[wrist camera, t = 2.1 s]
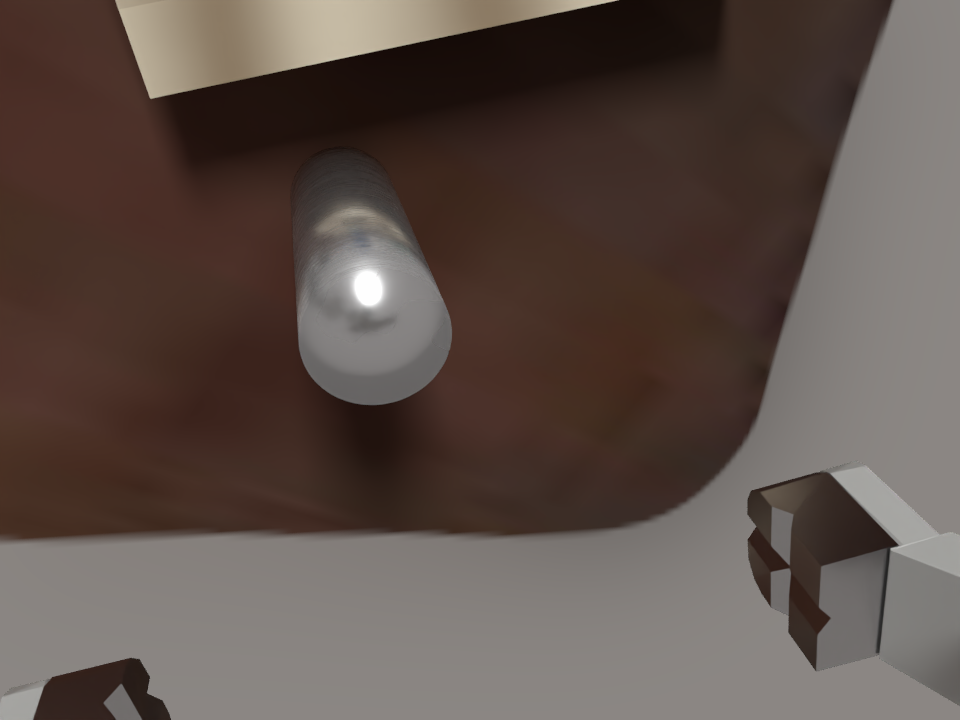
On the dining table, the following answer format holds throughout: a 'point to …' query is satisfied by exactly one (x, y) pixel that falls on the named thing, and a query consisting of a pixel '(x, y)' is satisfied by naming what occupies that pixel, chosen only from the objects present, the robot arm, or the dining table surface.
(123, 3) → the socket block
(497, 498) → the dining table surface
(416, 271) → the plug
